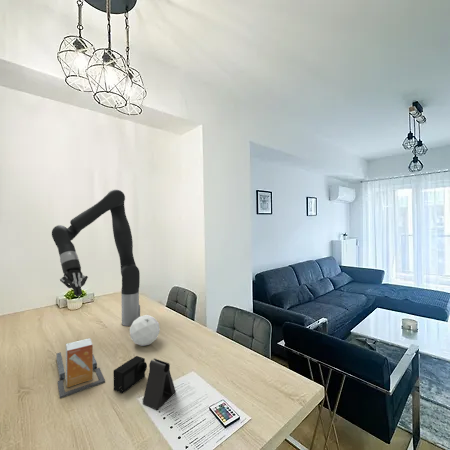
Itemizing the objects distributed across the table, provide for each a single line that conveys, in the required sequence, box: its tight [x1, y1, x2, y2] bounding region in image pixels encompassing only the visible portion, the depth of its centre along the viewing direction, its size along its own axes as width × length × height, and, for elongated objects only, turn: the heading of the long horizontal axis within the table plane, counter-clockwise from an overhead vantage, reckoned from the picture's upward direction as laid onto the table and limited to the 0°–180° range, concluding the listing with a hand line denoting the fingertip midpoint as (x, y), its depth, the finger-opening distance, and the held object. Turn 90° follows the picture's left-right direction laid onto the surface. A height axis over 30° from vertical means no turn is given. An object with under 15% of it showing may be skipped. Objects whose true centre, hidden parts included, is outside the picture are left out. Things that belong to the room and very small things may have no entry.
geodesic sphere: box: [129, 314, 161, 347], centre depth 117 cm, size 14×14×14 cm
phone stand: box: [142, 358, 177, 411], centre depth 81 cm, size 9×6×12 cm, turn 152°
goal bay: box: [57, 367, 106, 399], centre depth 89 cm, size 14×10×1 cm
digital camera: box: [113, 355, 148, 394], centre depth 89 cm, size 10×5×7 cm, turn 153°
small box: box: [65, 337, 94, 388], centre depth 91 cm, size 8×6×13 cm
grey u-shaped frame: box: [56, 352, 98, 381], centre depth 101 cm, size 12×18×2 cm, turn 37°
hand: (79, 295), depth 116 cm, fingers closed
